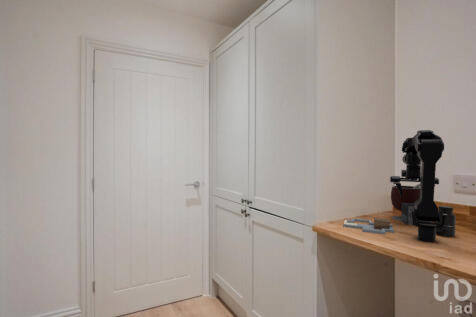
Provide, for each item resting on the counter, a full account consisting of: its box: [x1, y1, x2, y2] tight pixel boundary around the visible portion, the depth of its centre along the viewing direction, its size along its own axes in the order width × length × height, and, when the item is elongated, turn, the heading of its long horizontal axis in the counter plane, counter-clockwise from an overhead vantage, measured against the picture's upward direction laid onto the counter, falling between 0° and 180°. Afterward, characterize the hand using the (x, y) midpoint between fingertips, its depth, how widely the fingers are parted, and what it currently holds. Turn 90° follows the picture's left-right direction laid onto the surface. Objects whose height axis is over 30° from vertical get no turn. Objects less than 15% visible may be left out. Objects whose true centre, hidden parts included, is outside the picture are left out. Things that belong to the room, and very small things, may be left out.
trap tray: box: [342, 218, 395, 235], centre depth 122 cm, size 20×19×2 cm
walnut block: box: [373, 217, 391, 231], centre depth 120 cm, size 5×6×4 cm
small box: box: [400, 203, 426, 226], centre depth 129 cm, size 11×6×10 cm, turn 84°
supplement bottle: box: [435, 205, 457, 238], centre depth 115 cm, size 7×7×12 cm
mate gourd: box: [390, 183, 420, 222], centre depth 141 cm, size 16×14×20 cm
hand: (413, 198), depth 126 cm, fingers open, 9 cm apart
